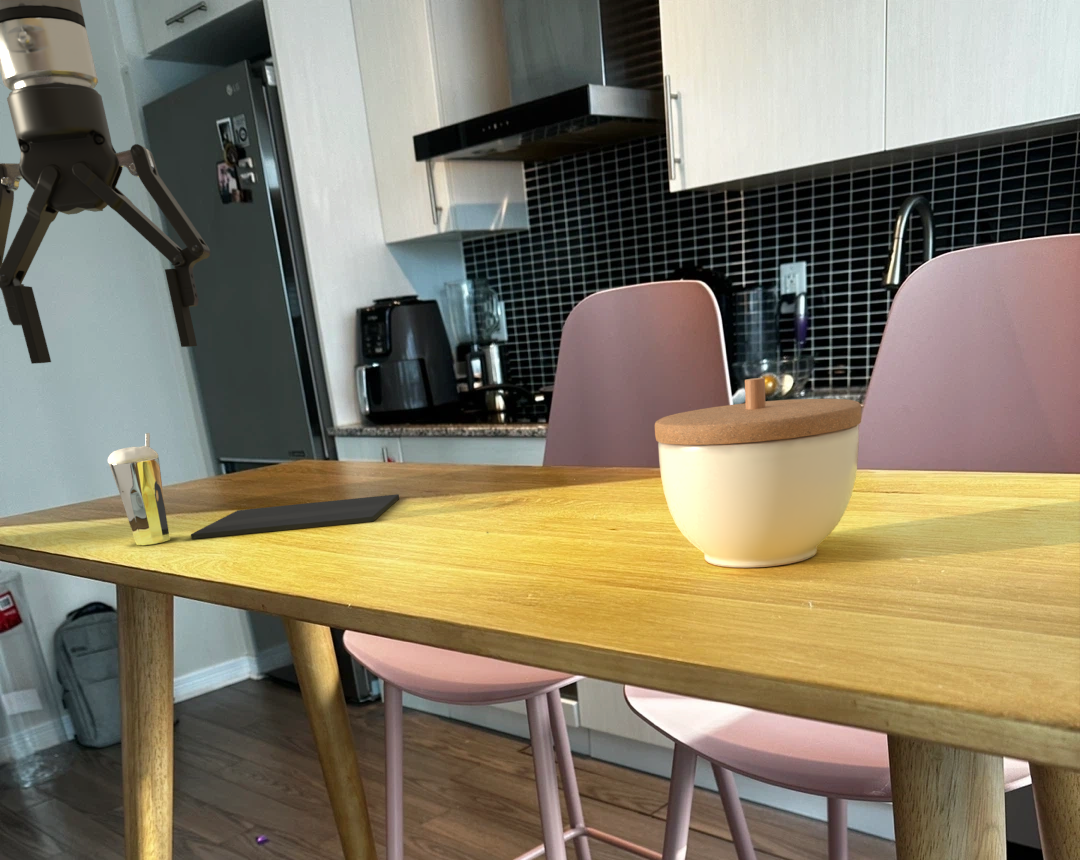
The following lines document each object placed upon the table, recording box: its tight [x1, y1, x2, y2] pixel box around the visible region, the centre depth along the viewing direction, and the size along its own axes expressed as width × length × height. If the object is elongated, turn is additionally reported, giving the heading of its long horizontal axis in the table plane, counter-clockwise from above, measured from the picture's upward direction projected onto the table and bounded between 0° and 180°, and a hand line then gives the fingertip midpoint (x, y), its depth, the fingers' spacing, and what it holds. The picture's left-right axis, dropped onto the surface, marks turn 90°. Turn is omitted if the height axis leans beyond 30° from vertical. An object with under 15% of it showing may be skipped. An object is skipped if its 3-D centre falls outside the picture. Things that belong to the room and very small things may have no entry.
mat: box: [190, 493, 400, 540], centre depth 105 cm, size 18×14×1 cm
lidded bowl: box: [654, 377, 862, 569], centre depth 65 cm, size 13×13×11 cm
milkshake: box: [107, 432, 171, 546], centre depth 99 cm, size 4×5×10 cm
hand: (115, 355), depth 95 cm, fingers open, 13 cm apart
